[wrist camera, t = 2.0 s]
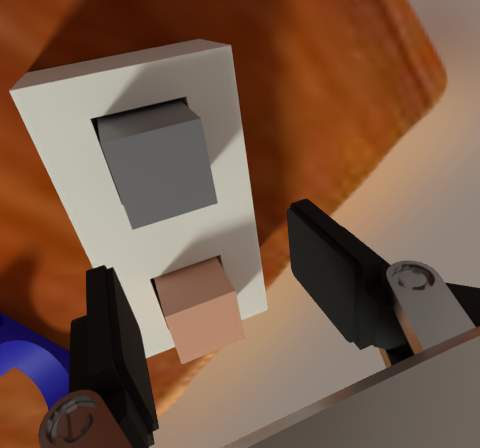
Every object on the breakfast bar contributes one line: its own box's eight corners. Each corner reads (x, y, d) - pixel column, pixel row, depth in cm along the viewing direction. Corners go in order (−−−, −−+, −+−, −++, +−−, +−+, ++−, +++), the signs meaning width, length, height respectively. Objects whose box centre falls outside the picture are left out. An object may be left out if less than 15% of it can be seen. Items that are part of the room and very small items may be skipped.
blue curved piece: (-59, 334, 30) (-86, 395, 25) (-17, 302, 30) (-35, 356, 25) (54, 387, 37) (50, 442, 33) (88, 361, 37) (89, 412, 33)
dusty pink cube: (149, 262, 29) (164, 317, 23) (208, 242, 30) (235, 290, 25) (165, 305, 31) (181, 364, 26) (218, 286, 33) (244, 338, 27)
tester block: (26, 72, 24) (9, 90, 18) (199, 38, 26) (231, 45, 21) (128, 306, 36) (137, 361, 30) (240, 266, 38) (267, 309, 33)
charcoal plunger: (96, 113, 22) (100, 143, 17) (174, 94, 23) (200, 118, 18) (121, 184, 25) (132, 229, 20) (190, 165, 26) (217, 203, 21)
